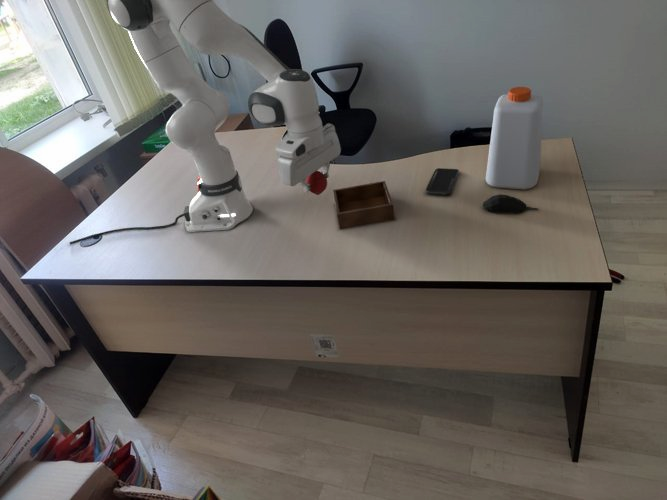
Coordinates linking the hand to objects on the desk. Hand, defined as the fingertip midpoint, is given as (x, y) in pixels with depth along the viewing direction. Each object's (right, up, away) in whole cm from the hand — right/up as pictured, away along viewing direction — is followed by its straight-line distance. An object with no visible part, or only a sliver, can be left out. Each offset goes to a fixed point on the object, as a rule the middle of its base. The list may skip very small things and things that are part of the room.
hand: (316, 184), depth 128 cm
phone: (+40, +4, +25) cm, 48 cm away
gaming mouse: (+55, -6, +9) cm, 56 cm away
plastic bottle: (+61, +5, +22) cm, 65 cm away
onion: (+1, -3, +2) cm, 3 cm away
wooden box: (+14, -6, +19) cm, 25 cm away
